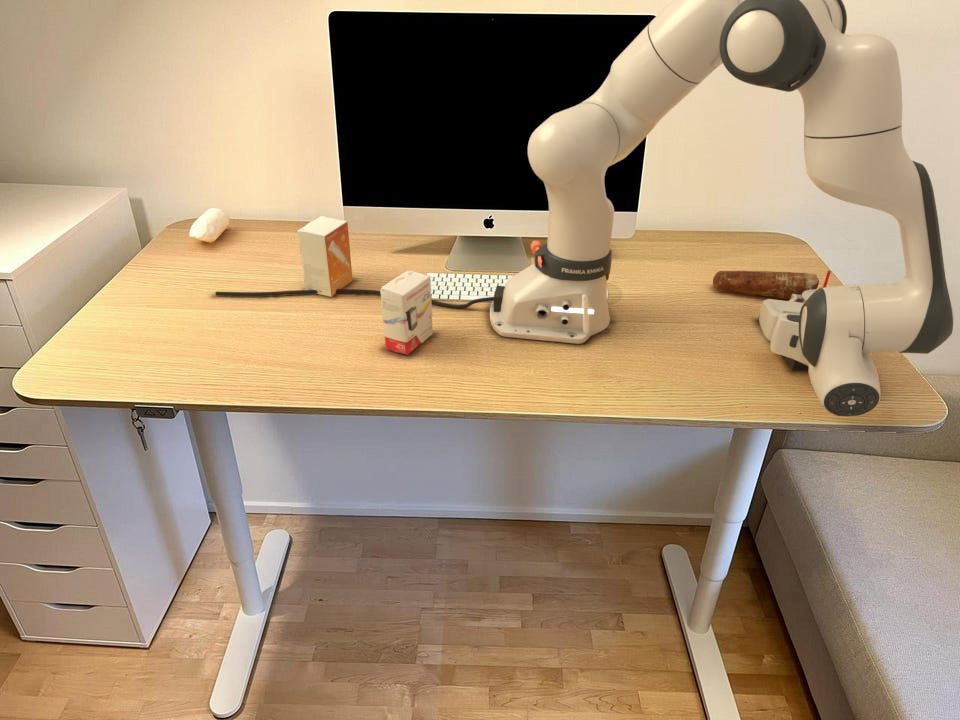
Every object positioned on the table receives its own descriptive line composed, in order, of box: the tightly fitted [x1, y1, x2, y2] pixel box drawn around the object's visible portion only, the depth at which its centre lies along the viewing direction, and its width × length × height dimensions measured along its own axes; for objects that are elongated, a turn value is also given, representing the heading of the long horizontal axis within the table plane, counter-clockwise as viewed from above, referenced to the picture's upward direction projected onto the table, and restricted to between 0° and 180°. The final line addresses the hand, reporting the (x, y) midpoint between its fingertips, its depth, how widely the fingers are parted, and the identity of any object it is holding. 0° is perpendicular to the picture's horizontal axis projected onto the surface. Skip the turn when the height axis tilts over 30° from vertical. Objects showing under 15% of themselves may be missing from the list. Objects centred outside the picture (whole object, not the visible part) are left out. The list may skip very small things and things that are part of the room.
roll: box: [189, 207, 231, 244], centre depth 158 cm, size 6×12×6 cm, turn 176°
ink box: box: [379, 269, 434, 356], centre depth 123 cm, size 9×5×12 cm, turn 150°
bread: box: [712, 270, 820, 301], centre depth 141 cm, size 6×19×6 cm, turn 74°
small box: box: [297, 215, 354, 298], centre depth 139 cm, size 8×6×13 cm
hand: (818, 300), depth 123 cm, fingers closed on beverage cup, 6 cm apart
